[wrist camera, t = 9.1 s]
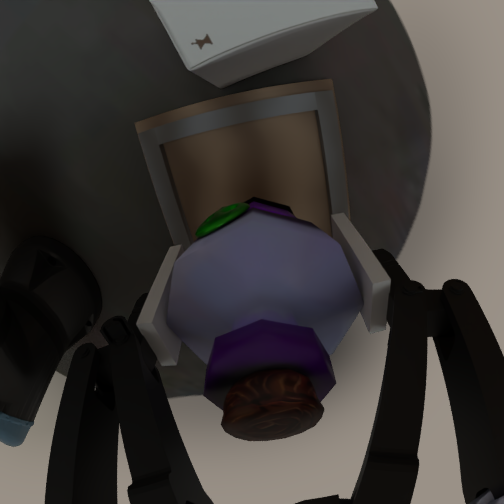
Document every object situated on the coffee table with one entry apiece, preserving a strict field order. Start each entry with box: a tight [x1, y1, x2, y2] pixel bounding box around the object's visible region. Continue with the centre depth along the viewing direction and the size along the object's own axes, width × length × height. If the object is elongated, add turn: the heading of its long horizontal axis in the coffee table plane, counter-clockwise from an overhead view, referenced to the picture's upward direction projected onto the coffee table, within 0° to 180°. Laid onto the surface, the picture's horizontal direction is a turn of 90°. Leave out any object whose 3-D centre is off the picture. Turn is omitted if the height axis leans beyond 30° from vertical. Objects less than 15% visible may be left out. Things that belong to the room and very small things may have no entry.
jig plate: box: [135, 79, 350, 252], centre depth 26 cm, size 17×18×3 cm
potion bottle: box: [166, 197, 364, 441], centre depth 13 cm, size 9×9×12 cm
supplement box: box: [149, 0, 378, 89], centre depth 13 cm, size 9×9×15 cm
